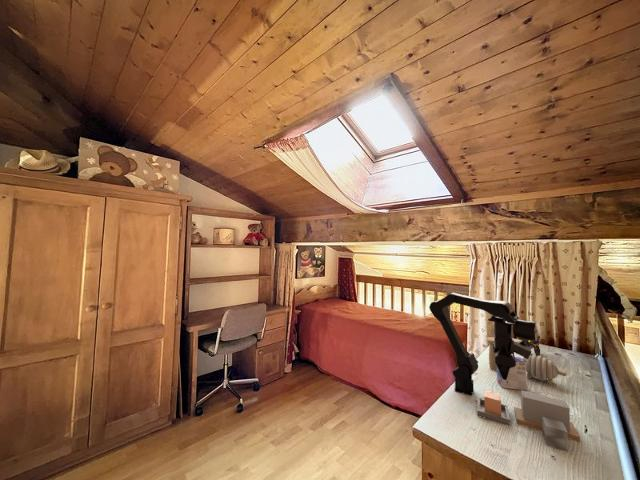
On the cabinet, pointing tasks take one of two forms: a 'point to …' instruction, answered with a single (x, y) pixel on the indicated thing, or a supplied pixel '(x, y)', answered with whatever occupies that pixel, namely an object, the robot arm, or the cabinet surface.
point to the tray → (501, 419)
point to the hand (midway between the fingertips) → (503, 374)
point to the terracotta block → (492, 402)
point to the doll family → (533, 345)
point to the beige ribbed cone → (541, 369)
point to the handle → (491, 354)
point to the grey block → (555, 434)
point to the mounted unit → (544, 412)
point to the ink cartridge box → (514, 376)
